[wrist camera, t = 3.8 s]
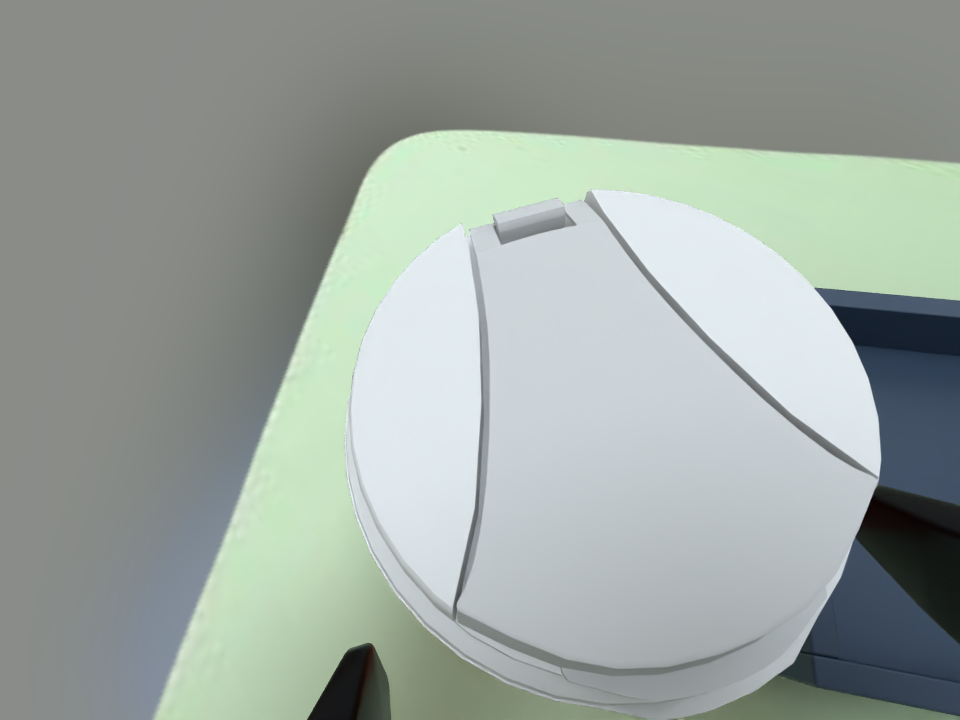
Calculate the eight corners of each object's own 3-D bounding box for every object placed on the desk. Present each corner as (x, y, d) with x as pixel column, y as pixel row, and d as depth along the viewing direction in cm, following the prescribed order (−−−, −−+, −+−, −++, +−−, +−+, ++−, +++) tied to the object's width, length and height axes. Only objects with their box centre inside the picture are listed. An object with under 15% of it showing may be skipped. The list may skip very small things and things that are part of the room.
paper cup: (431, 454, 20) (288, 232, 8) (600, 406, 21) (727, 119, 8) (478, 662, 17) (359, 875, 4) (681, 598, 17) (1123, 620, 5)
